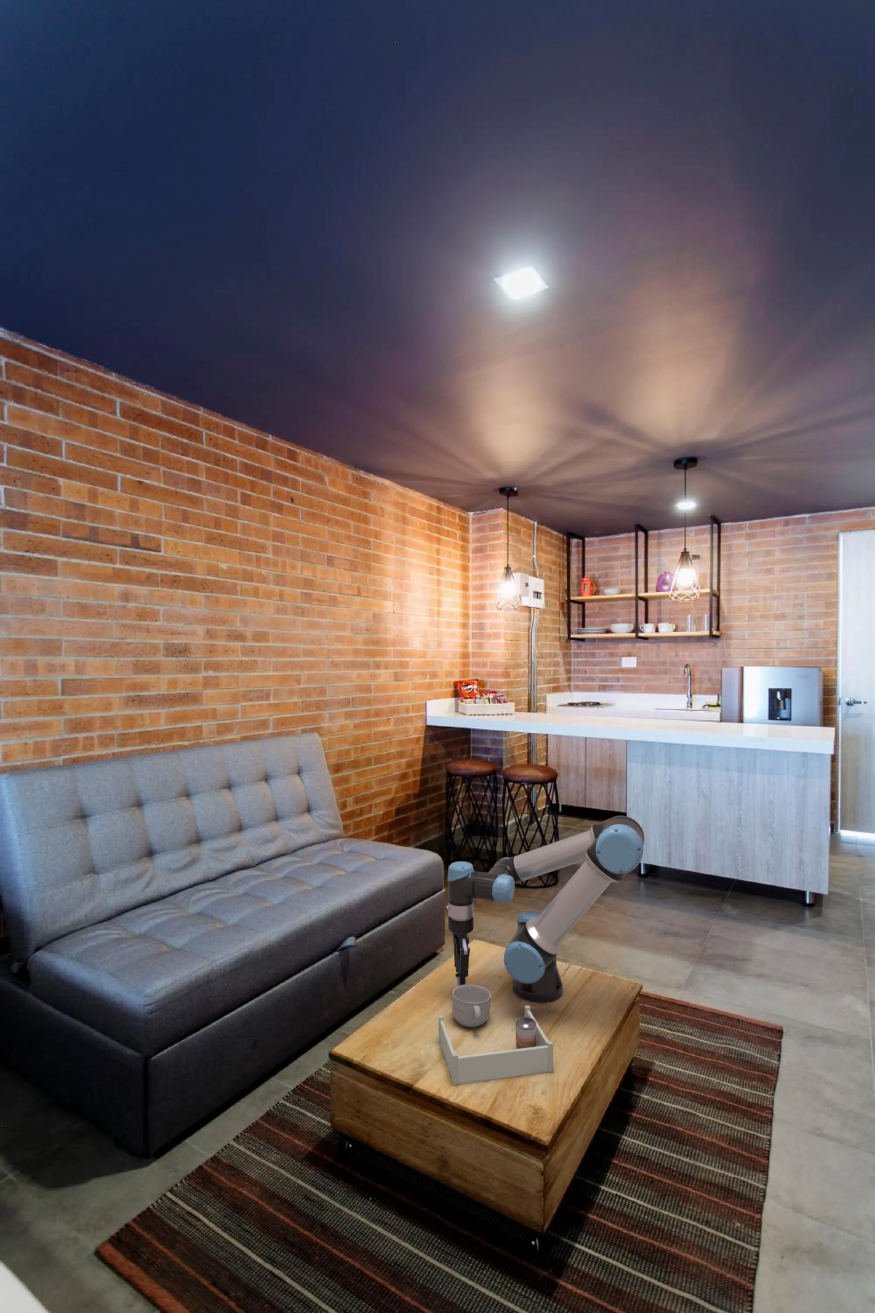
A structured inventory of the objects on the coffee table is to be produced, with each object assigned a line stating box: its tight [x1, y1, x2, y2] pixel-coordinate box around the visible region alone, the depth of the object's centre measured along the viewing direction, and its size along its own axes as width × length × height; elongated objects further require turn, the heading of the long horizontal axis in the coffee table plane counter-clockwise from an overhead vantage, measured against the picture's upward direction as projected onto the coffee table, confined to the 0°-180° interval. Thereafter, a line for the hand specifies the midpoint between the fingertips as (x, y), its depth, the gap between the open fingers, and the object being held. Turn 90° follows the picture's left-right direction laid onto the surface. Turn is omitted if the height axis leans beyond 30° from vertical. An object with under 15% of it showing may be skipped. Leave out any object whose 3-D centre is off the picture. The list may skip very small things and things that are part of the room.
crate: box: [438, 1004, 554, 1086], centre depth 162 cm, size 25×18×7 cm
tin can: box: [515, 1016, 536, 1049], centre depth 163 cm, size 5×5×8 cm
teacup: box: [451, 983, 492, 1028], centre depth 177 cm, size 14×11×8 cm
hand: (461, 996), depth 189 cm, fingers closed
